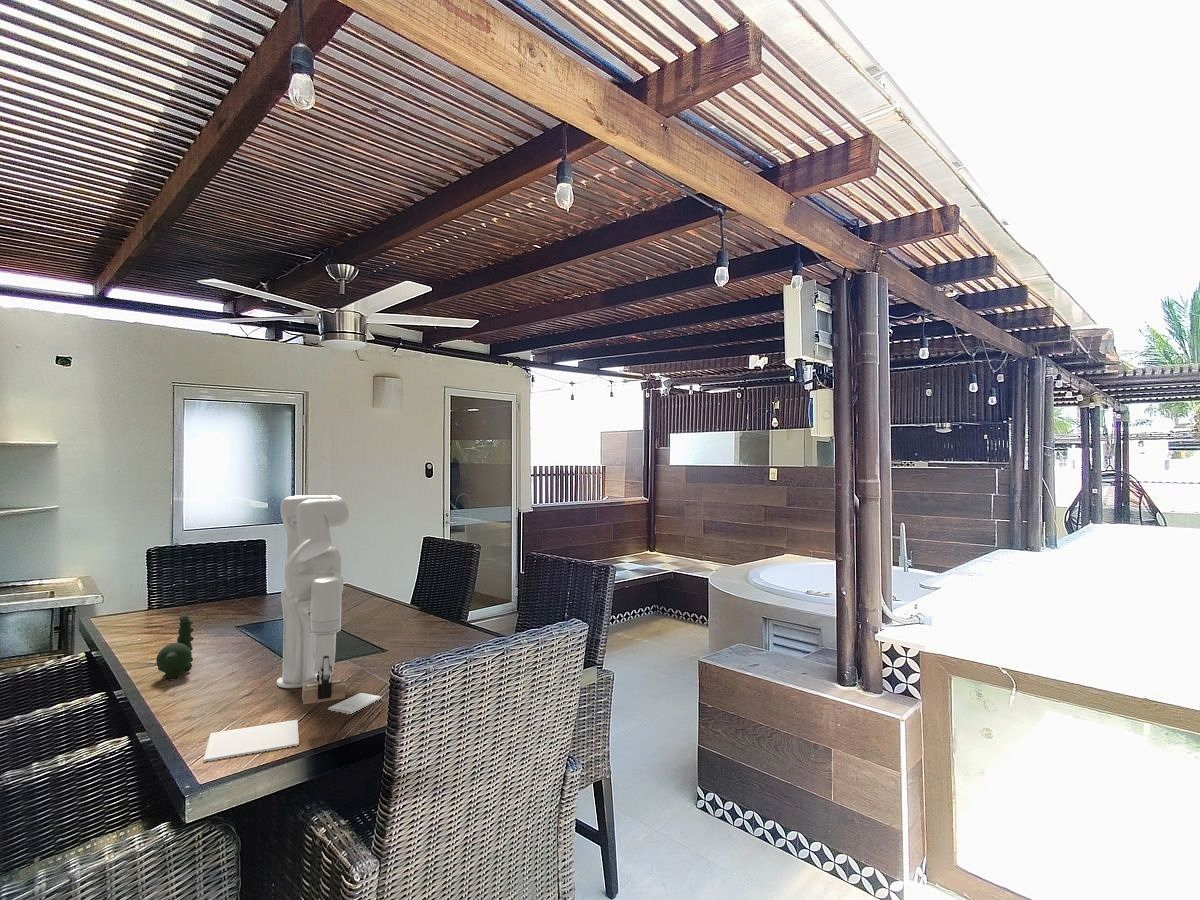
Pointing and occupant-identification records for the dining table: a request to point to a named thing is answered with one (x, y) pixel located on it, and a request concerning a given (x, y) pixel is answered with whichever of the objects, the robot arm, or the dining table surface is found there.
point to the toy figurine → (177, 652)
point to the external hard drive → (354, 703)
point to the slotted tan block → (312, 691)
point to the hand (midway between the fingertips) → (323, 692)
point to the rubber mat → (252, 740)
